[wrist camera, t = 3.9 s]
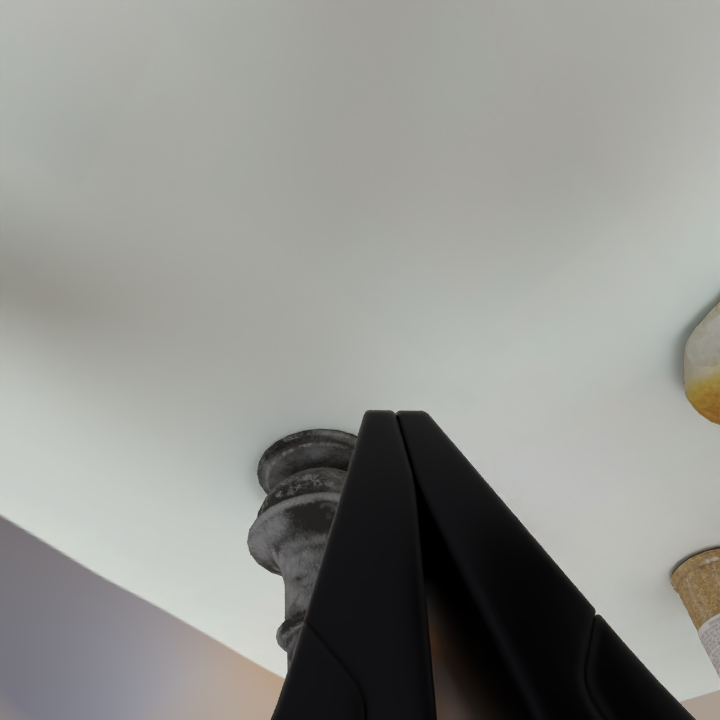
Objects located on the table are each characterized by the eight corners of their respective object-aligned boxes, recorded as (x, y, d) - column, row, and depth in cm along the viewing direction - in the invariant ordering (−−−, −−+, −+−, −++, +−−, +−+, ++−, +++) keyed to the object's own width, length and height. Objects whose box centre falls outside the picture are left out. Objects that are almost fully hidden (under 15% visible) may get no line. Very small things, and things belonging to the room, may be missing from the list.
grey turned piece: (314, 526, 30) (328, 827, 21) (221, 472, 27) (192, 799, 18) (411, 469, 28) (472, 776, 19) (322, 403, 25) (347, 734, 16)
